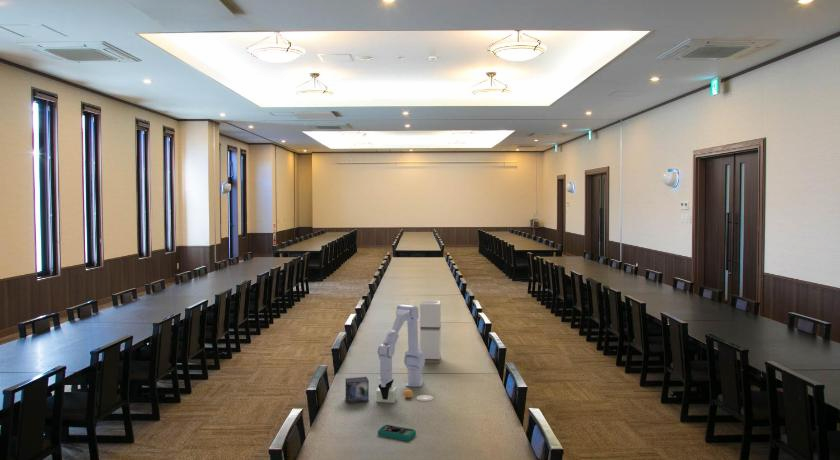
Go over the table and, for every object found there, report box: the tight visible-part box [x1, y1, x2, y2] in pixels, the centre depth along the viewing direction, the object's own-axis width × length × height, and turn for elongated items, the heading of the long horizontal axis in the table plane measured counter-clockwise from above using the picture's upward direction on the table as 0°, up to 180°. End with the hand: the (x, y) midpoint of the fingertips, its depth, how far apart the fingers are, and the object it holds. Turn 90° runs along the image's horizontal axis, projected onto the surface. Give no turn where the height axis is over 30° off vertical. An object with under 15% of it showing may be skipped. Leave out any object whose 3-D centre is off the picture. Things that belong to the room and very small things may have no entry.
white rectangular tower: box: [419, 300, 442, 364], centre depth 343 cm, size 11×11×35 cm
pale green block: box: [375, 386, 397, 404], centre depth 275 cm, size 6×8×6 cm
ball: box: [403, 389, 413, 398], centre depth 279 cm, size 4×4×4 cm
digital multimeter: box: [377, 424, 417, 442], centre depth 235 cm, size 7×15×3 cm, turn 66°
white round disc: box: [416, 394, 434, 402], centre depth 278 cm, size 8×8×1 cm
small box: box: [344, 376, 370, 404], centre depth 275 cm, size 11×6×10 cm, turn 105°
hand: (386, 396), depth 275 cm, fingers closed on pale green block, 6 cm apart
